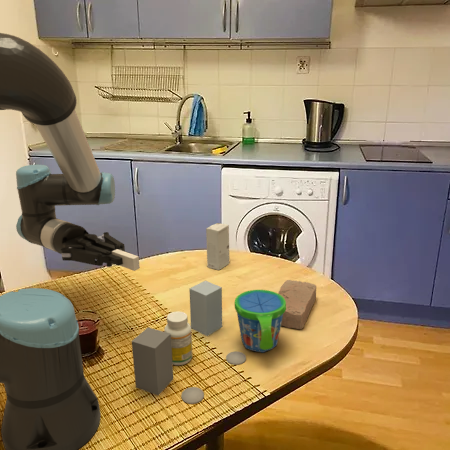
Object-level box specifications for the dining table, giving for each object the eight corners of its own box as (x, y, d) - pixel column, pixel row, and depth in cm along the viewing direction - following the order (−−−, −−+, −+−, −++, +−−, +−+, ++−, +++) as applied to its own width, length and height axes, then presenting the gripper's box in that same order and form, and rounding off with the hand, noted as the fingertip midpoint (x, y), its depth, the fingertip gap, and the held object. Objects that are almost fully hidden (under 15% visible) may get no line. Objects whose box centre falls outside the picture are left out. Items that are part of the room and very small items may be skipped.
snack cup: (234, 323, 105) (234, 283, 101) (280, 323, 105) (281, 283, 101) (234, 366, 90) (234, 321, 87) (288, 366, 90) (290, 321, 86)
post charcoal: (158, 395, 82) (154, 348, 79) (135, 387, 84) (131, 341, 81) (173, 379, 87) (170, 333, 83) (151, 371, 89) (148, 327, 85)
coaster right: (238, 367, 90) (238, 366, 90) (222, 359, 92) (222, 358, 92) (249, 357, 93) (249, 355, 93) (233, 350, 95) (233, 349, 95)
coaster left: (194, 407, 79) (193, 405, 79) (176, 397, 82) (176, 396, 82) (208, 394, 82) (208, 392, 82) (191, 385, 85) (191, 384, 85)
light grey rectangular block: (207, 336, 100) (205, 295, 96) (190, 328, 103) (189, 288, 100) (222, 326, 103) (221, 287, 100) (206, 319, 107) (205, 280, 103)
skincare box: (219, 270, 131) (218, 231, 127) (206, 267, 133) (205, 228, 129) (230, 263, 136) (230, 224, 132) (217, 259, 138) (216, 222, 134)
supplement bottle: (190, 366, 90) (189, 324, 87) (163, 365, 90) (161, 323, 87) (193, 350, 95) (192, 309, 92) (168, 349, 95) (165, 309, 92)
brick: (285, 292, 119) (285, 276, 117) (317, 298, 116) (318, 281, 114) (265, 325, 104) (266, 307, 103) (302, 333, 101) (303, 314, 100)
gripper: (90, 244, 113) (159, 268, 100) (43, 262, 103) (113, 292, 90) (86, 215, 110) (157, 236, 97) (38, 231, 100) (109, 257, 87)
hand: (136, 263), depth 93 cm, fingers closed
